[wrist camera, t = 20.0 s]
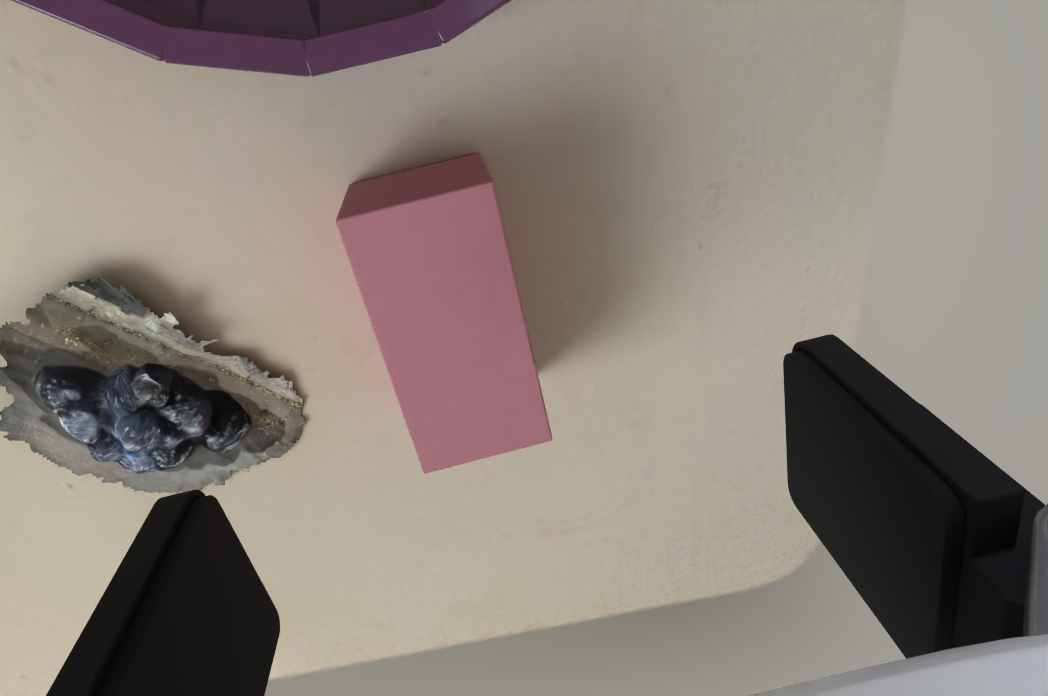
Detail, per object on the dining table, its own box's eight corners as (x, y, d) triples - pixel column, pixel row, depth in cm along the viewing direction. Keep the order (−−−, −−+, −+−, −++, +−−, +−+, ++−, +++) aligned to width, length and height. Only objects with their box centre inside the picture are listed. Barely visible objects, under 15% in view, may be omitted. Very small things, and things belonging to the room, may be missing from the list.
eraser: (348, 183, 18) (334, 220, 15) (479, 151, 18) (493, 181, 15) (422, 406, 21) (423, 474, 18) (532, 378, 21) (552, 441, 18)
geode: (7, 247, 17) (-37, 272, 16) (329, 318, 19) (321, 347, 18) (4, 463, 20) (-34, 505, 18) (288, 506, 22) (278, 547, 20)
